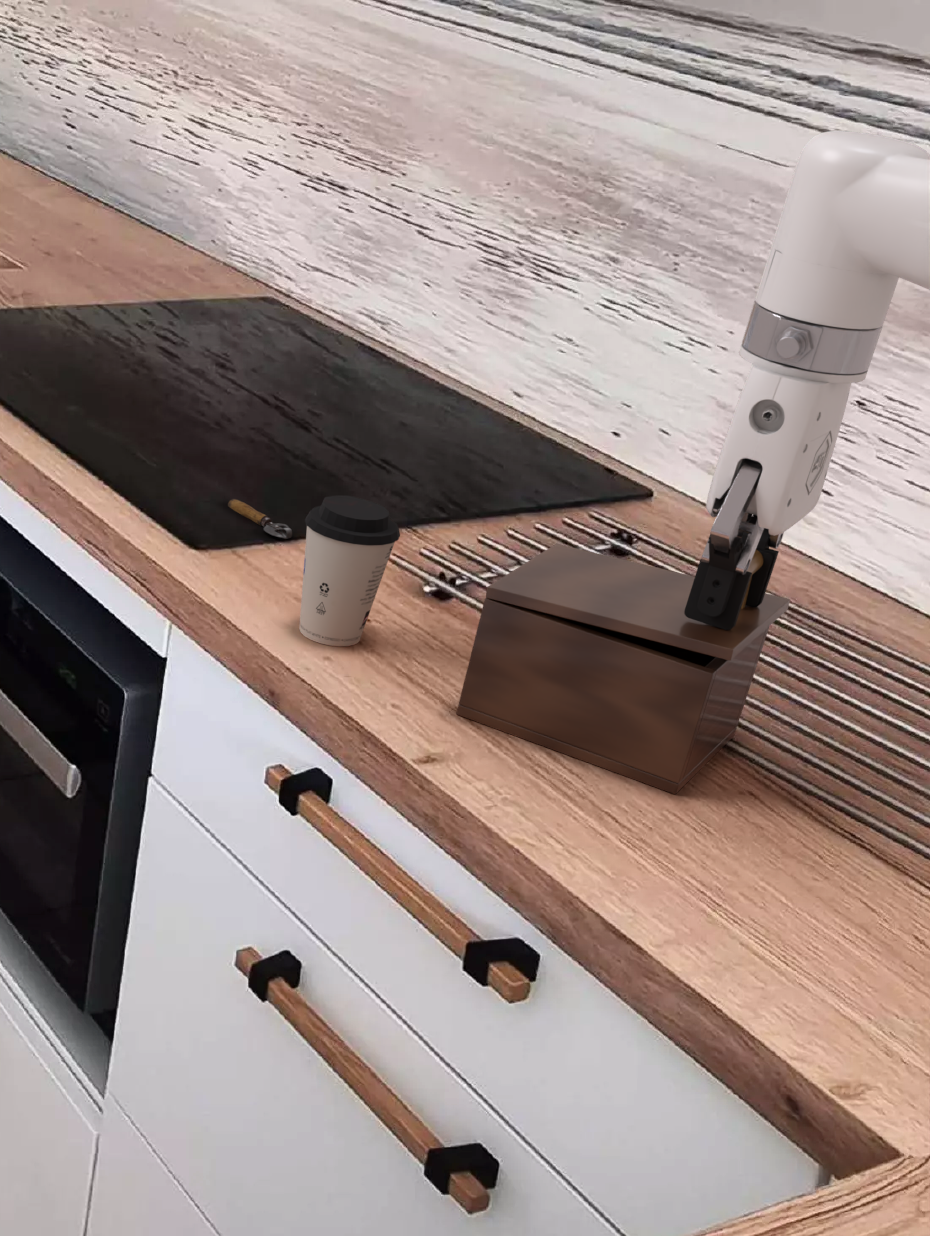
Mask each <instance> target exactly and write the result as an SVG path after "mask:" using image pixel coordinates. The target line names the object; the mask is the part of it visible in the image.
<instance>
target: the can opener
mask: <svg viewBox="0 0 930 1236" xmlns="http://www.w3.org/2000/svg"><path fill="white" fill-rule="evenodd" d="M227 507H229V508H230V509H231V510H233V511H234V512H236V513H238V514H240V515H241V516H243V517H245V518H246V519H248V520H251V521H252V522H253V523H255V524H257V525H259V526H260V527H263V531H264V532H265V533H267V534H269V535H271V536H273V537H277V538H282V539H284V540H287V539H291V538H292V537H293V531H292V529H291V528H290V527H289V525H288V524H285V523H281V522H279V523H277V522H276V523H275V522H273V519H272V518H271V517H270V516H268V515H266V514H264V513H262V512H260V511H258V510H256V509H255V508H254V507H252V506H251V505H249V504H247V503H245V502H243V501H242V500H239V499H237V498H231V499H230V500H229V501H228V503H227Z"/></svg>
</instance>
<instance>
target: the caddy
mask: <svg viewBox="0 0 930 1236" xmlns="http://www.w3.org/2000/svg"><path fill="white" fill-rule="evenodd" d="M483 600H484V601H483V604H482V609H481V613H480V617H479V621H478V625H477V627H476V632H475V637H474V642H473V645H472V649H471V653H470V656H469V660H468V665H467V668H466V673H465V676H464V679H463V680H464V681H463V685H462V688H461V693H460V697H459V700H458V705H457V708H456V715H457V716H460V717H462V718H465V719H468V720H470V721H473V722H476V723H480V724H482V725H484V726H487V727H490V728H492V729H496V730H498V731H501V732H503V733H507V734H509V735H511V736H514V737H517V738H520V739H523V740H526V741H528V742H530V743H534V744H536V745H538V746H542V747H545V748H547V749H550V750H553V751H556V752H559V753H560V754H564V755H566V756H569V757H571V758H575V759H577V760H580V761H583V762H586V763H589V764H591V765H594V766H597V767H598V768H602V769H605V770H608V771H609V772H613V773H617V774H619V775H621V776H624V777H627V778H629V779H632V780H635V781H637V782H640V783H643V784H645V785H648V786H650V787H655V788H657V789H659V790H662V791H665V792H667V793H670V794H673V795H676V794H677V793H679V791H680V790H681V789H682V788H683V787H684V786H685V785H687V783H688V782H690V780H691V779H692V778H694V776H695V775H696V774H697V773H698V772H699V771H701V769H703V768H704V766H706V765H707V764H708V763H709V761H710V760H711V759H713V758H714V757H715V756H716V755H717V754H718V753H719V752H720V751H721V750H722V749H723V748H724V747H725V746H726V745H727V744H728V743H729V742H730V741H731V740H732V739H733V738H734V736H735V734H736V732H737V727H738V726H739V723H740V722H739V721H740V719H741V716H742V713H743V709H744V706H745V703H746V702H747V701H746V700H747V698H748V694H749V691H750V688H751V684H752V682H753V679H754V675H755V673H756V669H757V666H758V663H759V660H760V657H761V654H762V651H763V647H764V644H765V642H766V638H767V635H768V632H769V629H770V626H769V627H768V628H767V629H766V630H764V631H763V632H762V633H761V634H760V635H759V636H758V637H757V638H755V639H754V640H753V641H752V642H751V643H750V644H749V645H748V646H747V647H745V648H744V649H743V650H742V651H741V652H740V653H739V654H738V655H736V656H735V657H734V658H733V659H732V660H731V661H729V660H726V659H722V658H718V657H714V656H710V655H706V654H702V653H698V652H695V651H691V650H687V649H683V648H679V647H675V646H671V645H668V644H664V643H660V642H656V641H652V640H648V639H644V638H640V637H637V636H633V635H629V634H625V633H621V632H617V631H613V630H609V629H606V628H602V627H598V626H594V625H590V624H586V623H582V622H578V621H575V620H571V619H567V618H563V617H559V616H555V615H551V614H547V613H544V612H540V611H536V610H532V609H528V608H524V607H520V606H517V605H513V604H509V603H505V602H501V601H497V600H493V599H489V598H486V597H485V598H484V599H483Z"/></svg>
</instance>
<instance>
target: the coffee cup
mask: <svg viewBox="0 0 930 1236" xmlns="http://www.w3.org/2000/svg"><path fill="white" fill-rule="evenodd" d="M304 522H305V526H306V535H305V545H304V546H305V547H304V560H303V561H304V562H303V573H302V575H303V576H302V585H301V600H300V613H299V623H298V624H299V626H298V628H299V633H300V634H301V635H303V637H305V638H306V639H308V640H310V641H313V642H316V643H319V644H321V645H326V646H331V647H332V646H333V647H349V646H354V645H357V644H359V642H360V640H361V638H362V635H363V633H364V629H365V626H366V624H367V621H368V618H369V615H370V612H371V609H372V607H373V604H374V602H375V599H376V595H377V593H378V590H379V588H380V584H381V582H382V579H383V576H384V573H385V571H386V568H387V565H388V562H389V559H390V557H391V554H392V551H393V548H394V545H395V543H396V542H397V541H399V539H400V537H401V533H400V529H399V525H398V523H397V522H396V520H394V519H392V518H391V517H390V512H389V510H388V509H387V508H386V507H385V506H383V505H381V504H379V503H376V502H374V501H370V500H368V499H364V498H360V497H356V496H352V495H329V496H325V497H324V498H323V500H322V503H321V505H317V506H315V507H313V508H311V509H310V511H308V514H307V515H306V517H305V519H304Z"/></svg>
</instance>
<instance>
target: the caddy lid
mask: <svg viewBox="0 0 930 1236" xmlns="http://www.w3.org/2000/svg"><path fill="white" fill-rule="evenodd" d="M762 565H763V556H762V554H761V553H760V552H759V551H758V550H755V553H754V555H753V558H752V560H751V563H750V566H749V568H748V570H747V571H748V572H751V573H752V575H753V574H754V573H755V572H756V571H757V570H759V569H760V568H761V567H762ZM694 578H695V575H691V574H686V573H683V572H682V573H681V572H678V571H673V570H669V569H665V568H660V567H656V566H652V565H647V564H644V563H639V562H635V561H630V560H627V559H624V558H618V557H615V556H611V555H607V554H602V553H598V552H593V551H589V550H585V549H580V548H576V547H572V546H569V545H564V544H560V543H555V544H553V545H552V546H550V547H548V548H547V549H545V550H544V551H542V552H541V553H539V554H537V555H536V556H534V557H533V558H531V559H529V560H528V561H527V562H525V563H523V564H522V565H520V566H518V567H516V568H514V569H513V570H512V571H510V572H509V573H508V574H505V575H504V576H502V577H501V578H499V579H497V580H496V581H495V582H493V583H491V584H489V585H488V586H487V587H486V591H485V598H489V599H493V600H497V601H501V602H505V603H509V604H513V605H517V606H520V607H524V608H528V609H532V610H536V611H540V612H544V613H547V614H551V615H555V616H559V617H563V618H567V619H571V620H575V621H578V622H582V623H586V624H590V625H594V626H598V627H602V628H606V629H609V630H613V631H617V632H621V633H625V634H629V635H633V636H637V637H640V638H644V639H648V640H652V641H656V642H660V643H664V644H668V645H671V646H675V647H679V648H683V649H687V650H691V651H695V652H698V653H702V654H706V655H710V656H714V657H718V658H722V659H726V660H729V661H731V660H732V659H733V658H734V657H735V656H736V655H738V654H739V653H740V652H741V651H742V650H743V649H744V648H745V647H747V646H748V645H749V644H750V643H751V642H752V641H753V640H754V639H755V638H757V637H758V636H759V635H760V634H761V633H762V632H763V631H764V630H766V629H767V628H768V627H769V628H770V626H771V625H772V624H773V623H775V621H777V620H778V619H779V618H780V617H781V616H782V615H784V613H786V612H787V611H788V609H789V605H790V603H791V602H790V601H791V599H790V598H786V597H782V596H778V595H774V594H770V593H766V592H765V595H764V598H763V601H762V603H761V604H760V605H759V606H757V607H751V606H748V605H745V604H746V600H747V596H748V591H749V587H750V583H751V579H752V576H751V579H750V582H749V585H748V588H747V591H746V594H745V597H744V600H743V603H742V606H741V609H740V613H739V616H738V619H737V622H736V625H735V626H734V627H733V628H732V629H731V630H724V629H720V628H717V627H714V626H711V625H708V624H705V623H702V622H699V621H696V620H693V619H690V618H688V617H686V616H685V614H684V610H685V607H686V604H687V601H688V598H689V594H690V591H691V588H692V585H693V582H694Z"/></svg>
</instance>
